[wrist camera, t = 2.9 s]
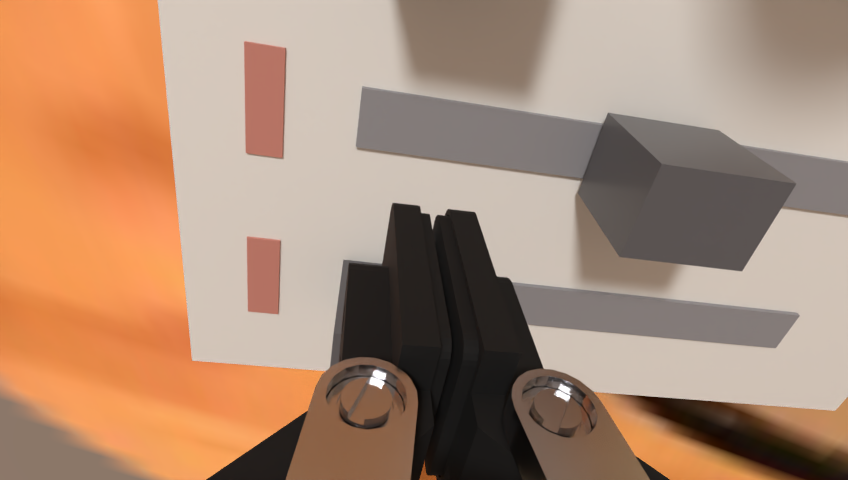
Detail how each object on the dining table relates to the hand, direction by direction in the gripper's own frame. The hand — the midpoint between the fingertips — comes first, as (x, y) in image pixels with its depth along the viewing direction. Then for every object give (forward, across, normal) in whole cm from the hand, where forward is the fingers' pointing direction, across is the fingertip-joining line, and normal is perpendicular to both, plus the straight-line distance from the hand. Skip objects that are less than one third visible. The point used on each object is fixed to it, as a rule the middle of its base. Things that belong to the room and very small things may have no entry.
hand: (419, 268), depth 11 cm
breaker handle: (+7, -8, 0) cm, 11 cm away
